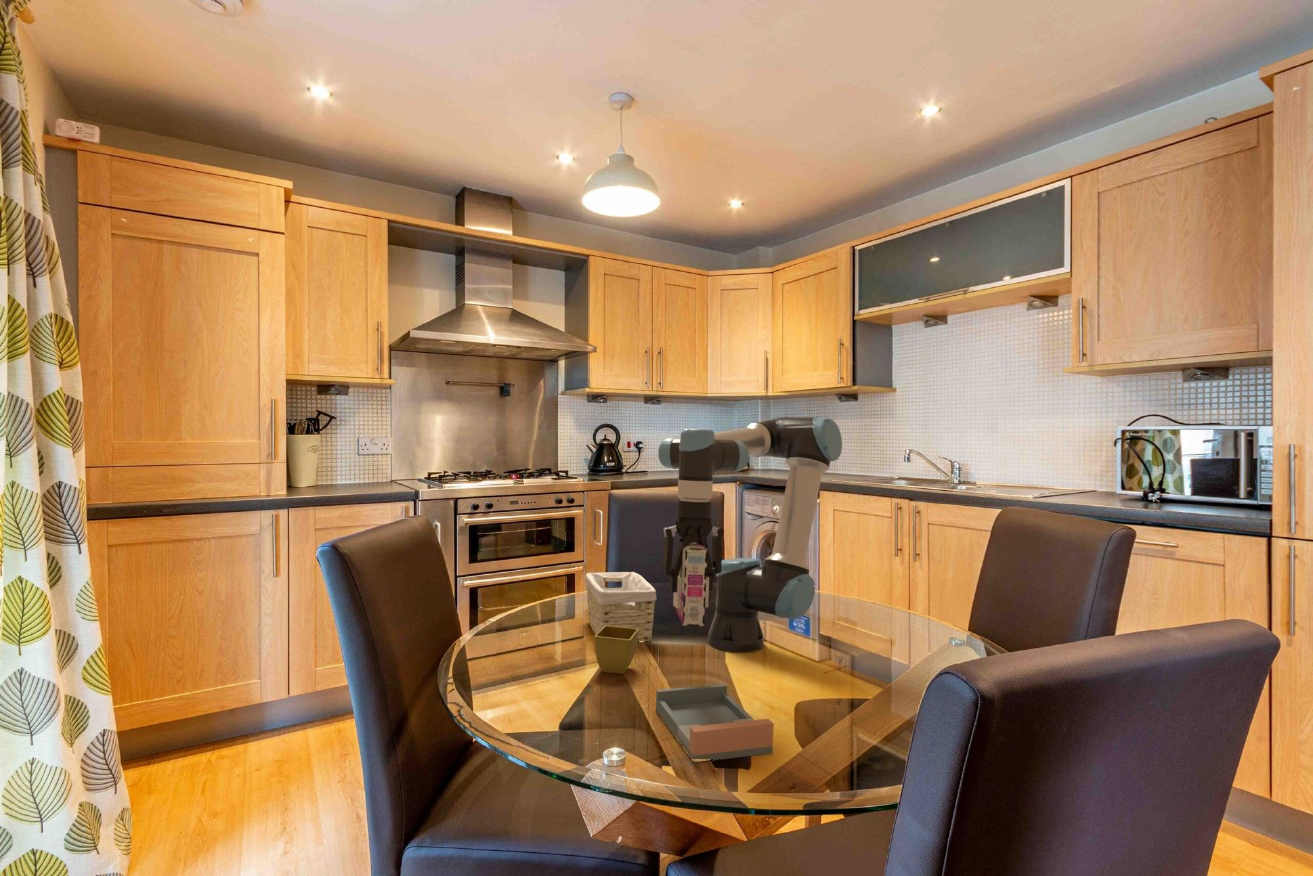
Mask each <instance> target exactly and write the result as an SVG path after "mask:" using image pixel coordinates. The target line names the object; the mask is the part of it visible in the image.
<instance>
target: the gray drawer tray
mask: <svg viewBox="0 0 1313 876" xmlns="http://www.w3.org/2000/svg"><path fill="white" fill-rule="evenodd" d="M727 688H728V686H727V684H723V683H722V684H711V685H710V684H709V685H701V686H700V685H698V686H687V687H686V686H685V687H677V688H665V689H664V688H663V689H656V690H655V691H656V693H655V694H656V695H655V696H656V697H655V712H656V713H657V715H658V714H659V715H660V716H659V715H658V716H659V718H660V717H661V718H662V719H663V720H662V719H661V718H660V719H661V720H662V721H664V722H665V723H666V724H665V723H664V722H663V723H664V724H665V726H666V725H667V726H668V727H669V729H670V730H671V731H672V732H673V734H674V735H675V736H676V737H677V739H678V740H679V742H680V743H681V744H682V746H683V747H684V748H685V750H686V751H687V752H688V754H689V755H690V756H691V757H692V759H711V760H712V759H713V760H712V761H719V759H720V760H725V759H726V760H727V759H737V758H744V757H751V756H760V755H770V754H773V753H774V752H773V750H774V748H773V747H774V744H773V743H774V730H775V729H774V725H775V724H774V722H773V721H772V720H770V718H761V719H754V718H753V717H752V715H750V714H749V713H748V712H747V711H746V710H745V709H744V708H743V707H742V706H741V705H740V704H739V703H738V702H736V701H735V699H733V698H732V697H731V696H730V695H729V694H728V693H727V692H728V689H727ZM667 726H666V727H667ZM668 727H667V728H668ZM669 729H668V730H669ZM670 730H669V731H670ZM671 731H670V732H671ZM673 734H672V735H673Z"/></svg>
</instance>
